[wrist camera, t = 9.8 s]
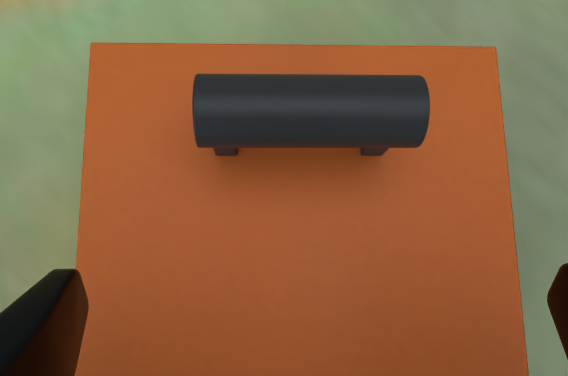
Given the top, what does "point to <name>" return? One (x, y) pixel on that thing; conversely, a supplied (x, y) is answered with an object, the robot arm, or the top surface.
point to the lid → (297, 213)
